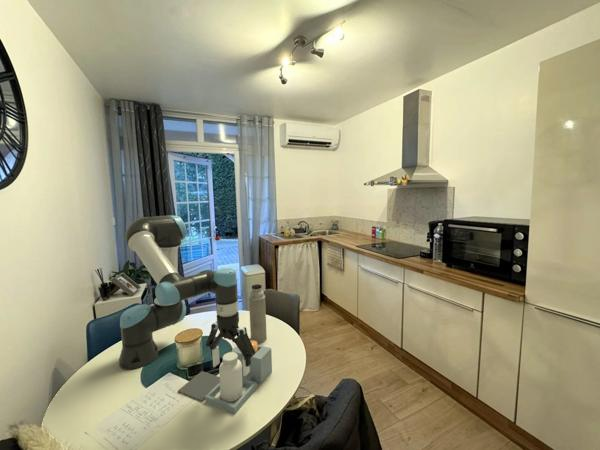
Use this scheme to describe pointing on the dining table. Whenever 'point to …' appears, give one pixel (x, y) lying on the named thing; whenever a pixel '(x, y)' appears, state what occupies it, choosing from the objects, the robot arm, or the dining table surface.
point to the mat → (200, 386)
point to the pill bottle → (230, 377)
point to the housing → (246, 378)
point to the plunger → (254, 346)
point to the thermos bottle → (257, 314)
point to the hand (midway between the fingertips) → (231, 369)
